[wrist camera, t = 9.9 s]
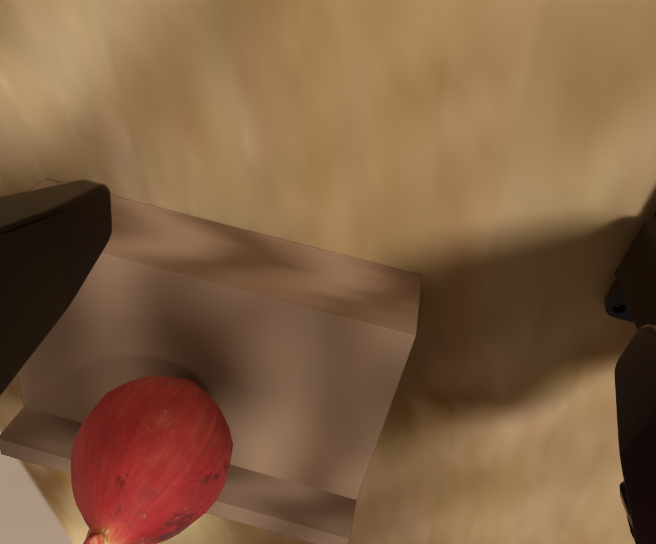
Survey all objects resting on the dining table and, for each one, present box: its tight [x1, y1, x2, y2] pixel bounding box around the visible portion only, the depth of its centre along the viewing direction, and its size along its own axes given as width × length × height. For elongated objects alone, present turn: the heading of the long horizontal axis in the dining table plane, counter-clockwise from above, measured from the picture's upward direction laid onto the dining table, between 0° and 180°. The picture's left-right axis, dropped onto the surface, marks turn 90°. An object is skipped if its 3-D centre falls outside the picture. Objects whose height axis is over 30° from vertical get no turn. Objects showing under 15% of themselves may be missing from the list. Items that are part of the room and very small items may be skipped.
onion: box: [71, 376, 233, 544], centre depth 21 cm, size 6×6×8 cm
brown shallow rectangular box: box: [0, 179, 422, 544], centre depth 26 cm, size 17×12×6 cm
